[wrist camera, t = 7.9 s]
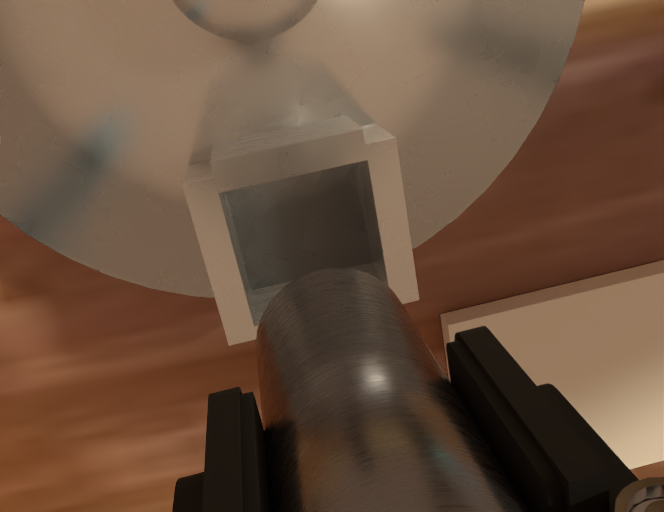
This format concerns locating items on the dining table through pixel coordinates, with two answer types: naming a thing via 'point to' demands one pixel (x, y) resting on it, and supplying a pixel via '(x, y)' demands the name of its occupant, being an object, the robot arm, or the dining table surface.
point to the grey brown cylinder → (365, 408)
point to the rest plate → (590, 351)
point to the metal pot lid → (263, 132)
